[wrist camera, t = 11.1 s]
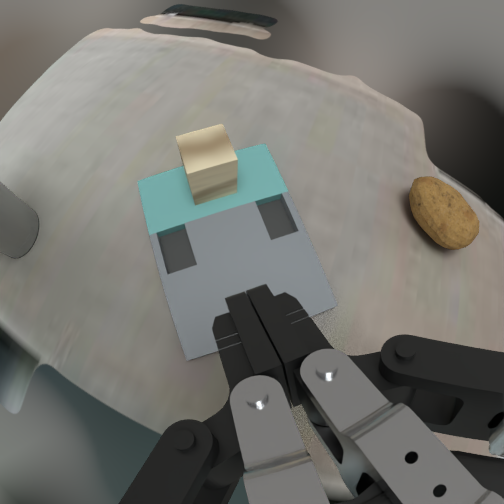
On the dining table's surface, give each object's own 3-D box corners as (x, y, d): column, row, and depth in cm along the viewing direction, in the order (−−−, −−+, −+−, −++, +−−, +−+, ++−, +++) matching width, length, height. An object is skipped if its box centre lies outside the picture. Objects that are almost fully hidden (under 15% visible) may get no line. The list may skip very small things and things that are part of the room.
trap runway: (332, 307, 39) (337, 305, 37) (189, 359, 35) (186, 360, 34) (263, 151, 45) (265, 143, 44) (141, 187, 42) (137, 181, 41)
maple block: (237, 192, 41) (237, 159, 33) (195, 205, 40) (187, 174, 32) (224, 159, 42) (222, 123, 35) (184, 171, 41) (175, 136, 34)
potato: (408, 179, 46) (431, 154, 38) (463, 229, 44) (490, 211, 36) (387, 215, 43) (412, 192, 36) (447, 269, 41) (477, 255, 34)
